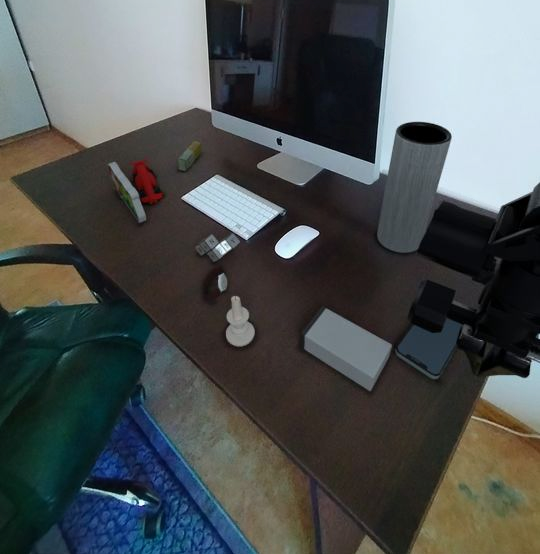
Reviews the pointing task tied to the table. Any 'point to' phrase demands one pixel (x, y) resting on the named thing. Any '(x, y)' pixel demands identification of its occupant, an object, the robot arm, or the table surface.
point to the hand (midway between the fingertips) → (476, 372)
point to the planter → (412, 184)
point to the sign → (127, 192)
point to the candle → (239, 324)
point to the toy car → (145, 182)
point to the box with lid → (346, 347)
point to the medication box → (189, 156)
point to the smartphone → (429, 348)
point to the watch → (221, 282)
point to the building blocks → (216, 246)
